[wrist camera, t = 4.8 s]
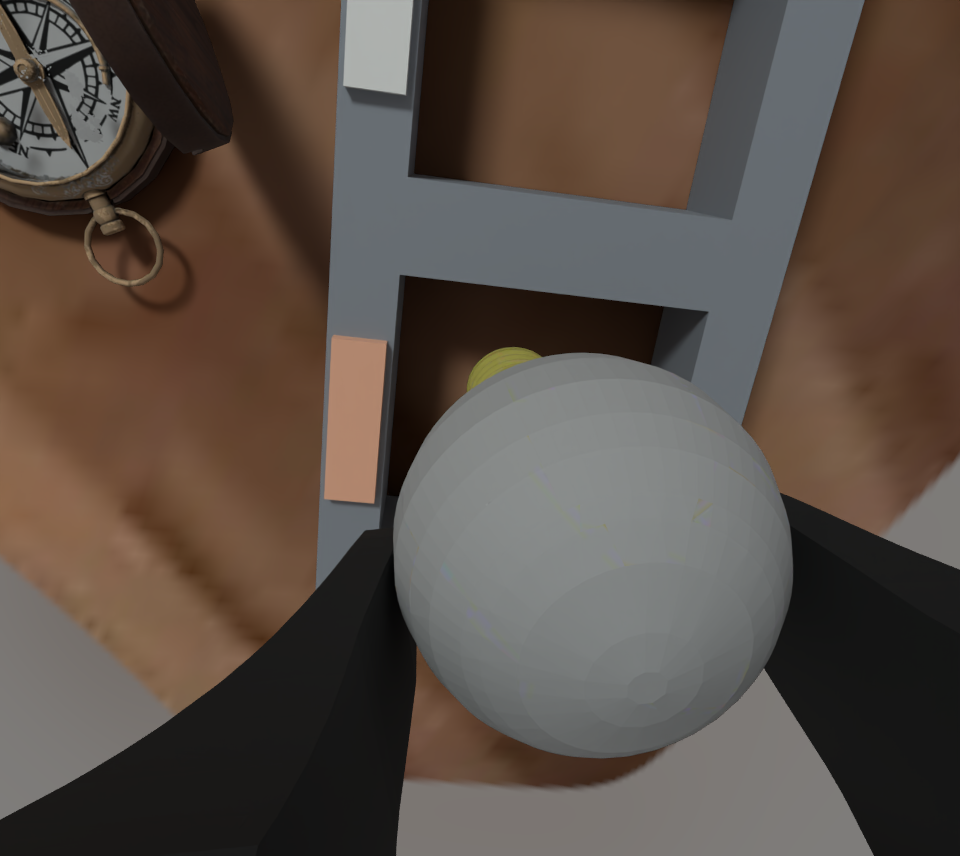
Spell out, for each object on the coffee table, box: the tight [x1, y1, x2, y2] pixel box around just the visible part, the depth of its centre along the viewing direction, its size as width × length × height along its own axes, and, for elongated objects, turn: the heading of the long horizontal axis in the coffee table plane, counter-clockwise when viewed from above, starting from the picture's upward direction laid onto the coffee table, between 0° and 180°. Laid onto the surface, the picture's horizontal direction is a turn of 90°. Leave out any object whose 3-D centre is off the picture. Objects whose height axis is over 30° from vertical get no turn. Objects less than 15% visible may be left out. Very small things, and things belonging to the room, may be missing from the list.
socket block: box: [316, 0, 864, 589], centre depth 16 cm, size 10×19×3 cm, turn 173°
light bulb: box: [393, 347, 793, 758], centre depth 12 cm, size 6×6×10 cm
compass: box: [0, 0, 234, 287], centre depth 13 cm, size 8×8×7 cm
